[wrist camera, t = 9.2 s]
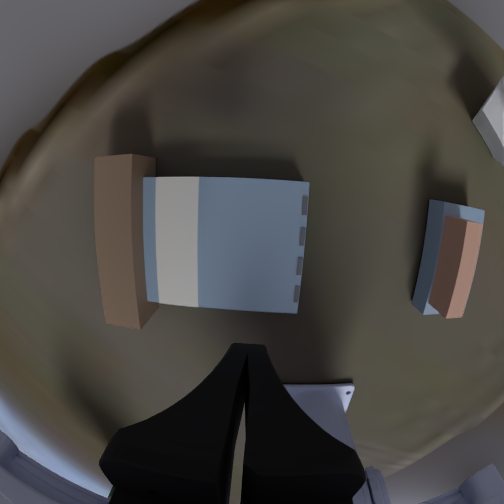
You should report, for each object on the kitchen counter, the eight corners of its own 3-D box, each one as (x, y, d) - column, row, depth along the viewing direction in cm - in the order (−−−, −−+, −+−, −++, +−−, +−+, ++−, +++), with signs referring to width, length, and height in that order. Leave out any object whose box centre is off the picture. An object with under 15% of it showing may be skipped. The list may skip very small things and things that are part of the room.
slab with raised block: (451, 302, 20) (480, 325, 15) (411, 303, 20) (439, 330, 16) (469, 207, 18) (506, 215, 13) (429, 199, 18) (467, 205, 13)
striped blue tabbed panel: (292, 317, 21) (296, 344, 18) (128, 302, 22) (106, 323, 18) (305, 161, 18) (315, 156, 15) (122, 160, 19) (94, 157, 15)
